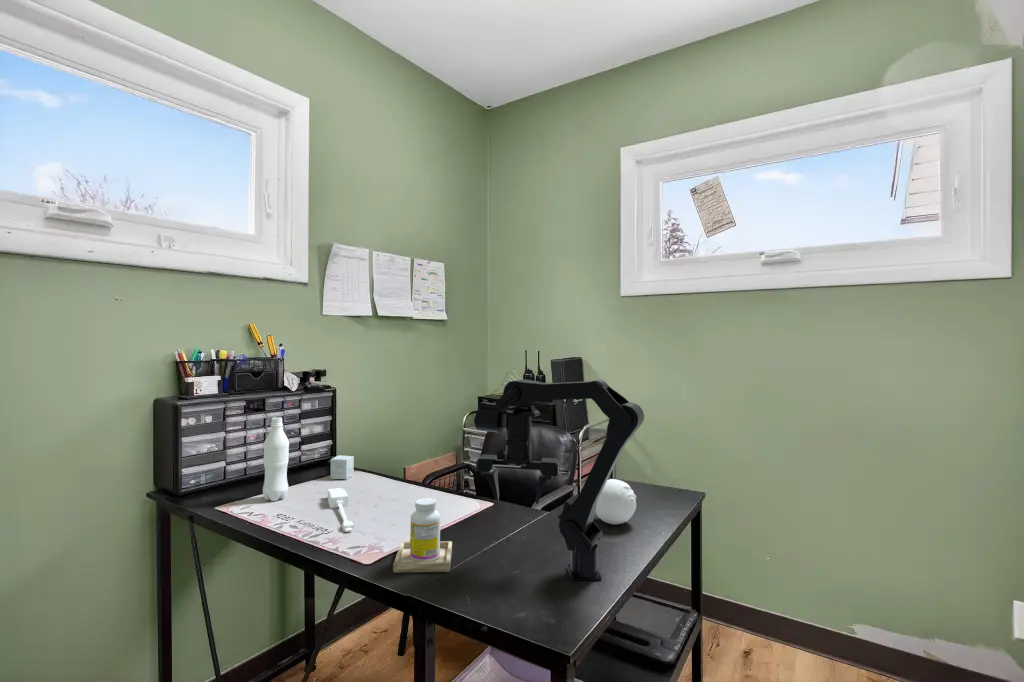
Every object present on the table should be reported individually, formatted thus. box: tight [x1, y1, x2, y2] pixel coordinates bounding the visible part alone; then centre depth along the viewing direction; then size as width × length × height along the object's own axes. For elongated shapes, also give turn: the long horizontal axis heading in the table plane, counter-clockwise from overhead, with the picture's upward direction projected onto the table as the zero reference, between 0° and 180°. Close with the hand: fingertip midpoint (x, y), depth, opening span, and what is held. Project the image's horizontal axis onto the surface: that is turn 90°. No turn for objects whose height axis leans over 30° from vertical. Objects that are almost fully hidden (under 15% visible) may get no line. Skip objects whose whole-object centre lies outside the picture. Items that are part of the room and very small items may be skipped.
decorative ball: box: [595, 478, 637, 525], centre depth 140 cm, size 12×12×12 cm
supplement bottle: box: [409, 497, 441, 562], centre depth 114 cm, size 7×7×13 cm
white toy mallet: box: [327, 487, 355, 533], centre depth 144 cm, size 5×32×3 cm, turn 26°
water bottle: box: [262, 416, 290, 502], centre depth 155 cm, size 7×7×25 cm
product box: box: [330, 454, 355, 480], centre depth 180 cm, size 6×6×7 cm
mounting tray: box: [392, 540, 453, 573], centre depth 114 cm, size 12×12×2 cm
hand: (517, 502), depth 116 cm, fingers open, 9 cm apart
